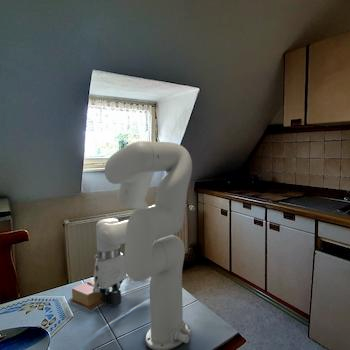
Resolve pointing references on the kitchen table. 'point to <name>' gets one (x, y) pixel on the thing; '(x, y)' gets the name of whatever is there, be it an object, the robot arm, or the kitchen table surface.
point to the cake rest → (93, 283)
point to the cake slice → (85, 294)
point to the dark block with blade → (113, 296)
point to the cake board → (90, 305)
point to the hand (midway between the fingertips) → (111, 300)
